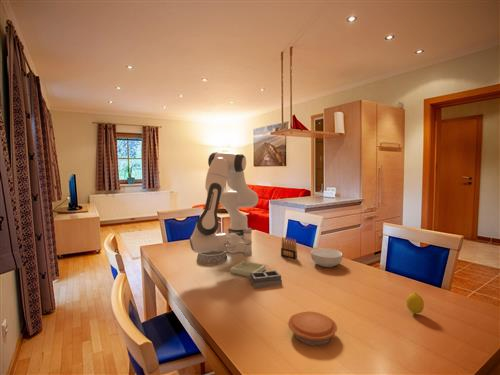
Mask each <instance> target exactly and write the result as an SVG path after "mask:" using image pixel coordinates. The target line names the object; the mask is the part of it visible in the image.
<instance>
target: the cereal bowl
mask: <svg viewBox="0 0 500 375" xmlns="http://www.w3.org/2000/svg"><path fill="white" fill-rule="evenodd" d="M310 256H311V260H312V262H314V263H315V264H317V265H319V266H320V267H324V268H332V267H334V266H337V265H340V263H341V262H342V260H343V253H342V251H341V250H337V249H334V248H327V247H326V248H325V247H324V248H319V247H318V248H315V249H312V250H311V252H310Z"/></svg>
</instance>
